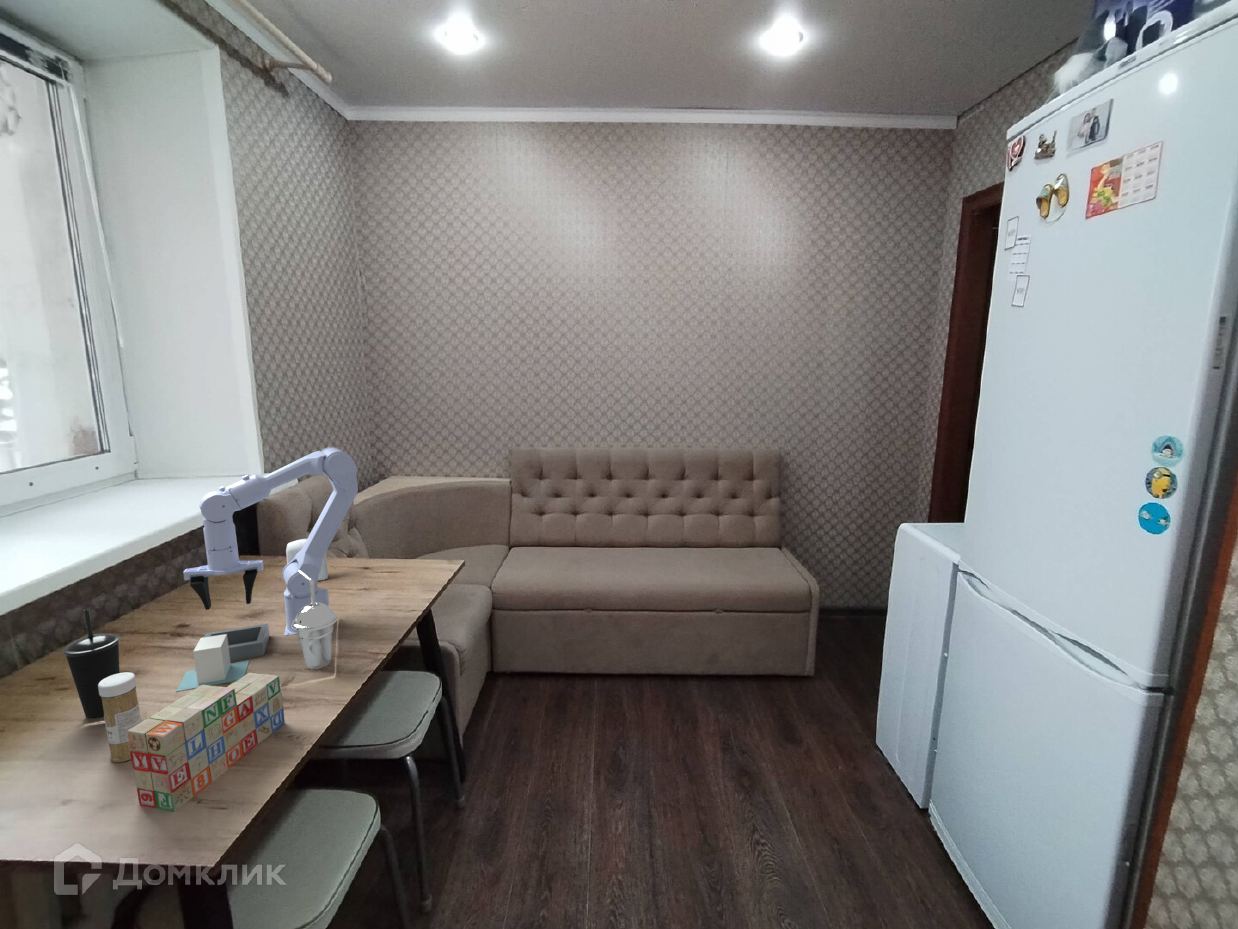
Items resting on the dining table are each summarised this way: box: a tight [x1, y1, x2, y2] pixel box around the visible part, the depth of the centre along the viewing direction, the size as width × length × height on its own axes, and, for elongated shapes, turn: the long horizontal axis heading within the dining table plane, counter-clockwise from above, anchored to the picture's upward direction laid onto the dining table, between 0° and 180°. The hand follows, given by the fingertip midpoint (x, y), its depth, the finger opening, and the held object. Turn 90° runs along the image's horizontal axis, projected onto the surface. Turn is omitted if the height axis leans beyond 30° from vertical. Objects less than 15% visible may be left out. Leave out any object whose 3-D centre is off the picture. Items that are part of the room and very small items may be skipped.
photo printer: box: [285, 538, 329, 582], centre depth 171 cm, size 10×4×12 cm, turn 110°
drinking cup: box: [62, 608, 121, 719], centre depth 106 cm, size 8×8×20 cm
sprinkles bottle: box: [98, 671, 142, 763], centre depth 95 cm, size 5×5×14 cm
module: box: [192, 634, 231, 684], centre depth 119 cm, size 4×6×7 cm
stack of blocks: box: [128, 672, 286, 812], centre depth 94 cm, size 21×6×12 cm, turn 168°
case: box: [203, 623, 270, 662], centre depth 129 cm, size 12×10×4 cm
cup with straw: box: [291, 570, 338, 670], centre depth 123 cm, size 8×9×20 cm
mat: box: [175, 660, 250, 693], centre depth 119 cm, size 11×8×1 cm
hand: (228, 605), depth 132 cm, fingers open, 7 cm apart
